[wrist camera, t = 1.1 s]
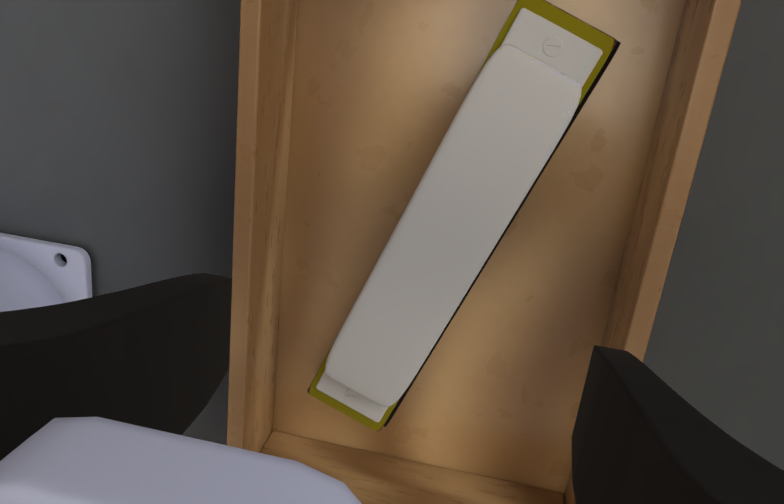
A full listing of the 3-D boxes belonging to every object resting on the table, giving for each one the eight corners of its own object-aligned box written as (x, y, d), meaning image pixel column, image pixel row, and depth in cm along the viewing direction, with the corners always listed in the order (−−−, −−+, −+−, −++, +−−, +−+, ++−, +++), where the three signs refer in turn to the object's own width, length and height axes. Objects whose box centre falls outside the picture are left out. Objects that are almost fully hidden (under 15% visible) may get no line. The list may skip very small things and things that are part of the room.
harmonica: (389, 416, 24) (378, 449, 22) (316, 375, 24) (298, 404, 22) (618, 42, 18) (629, 43, 17) (523, -10, 18) (523, -15, 17)
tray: (261, 433, 26) (224, 490, 22) (290, -117, 19) (244, -148, 16) (577, 502, 24) (585, 574, 21) (725, -77, 17) (770, -102, 14)
